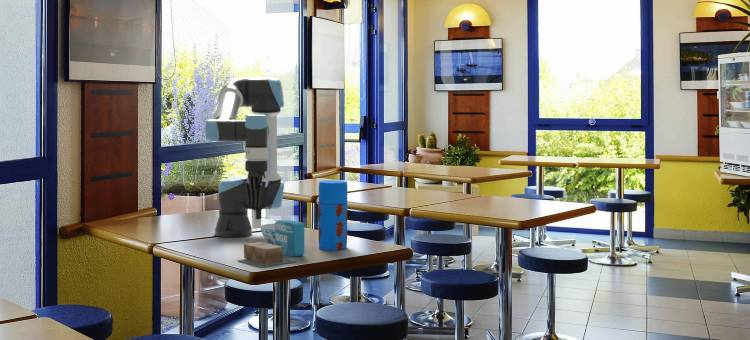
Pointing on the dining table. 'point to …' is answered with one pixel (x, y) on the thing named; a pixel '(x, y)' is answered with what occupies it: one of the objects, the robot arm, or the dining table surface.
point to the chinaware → (269, 232)
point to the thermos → (332, 215)
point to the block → (263, 252)
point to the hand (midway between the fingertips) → (256, 228)
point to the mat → (261, 265)
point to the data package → (290, 237)
